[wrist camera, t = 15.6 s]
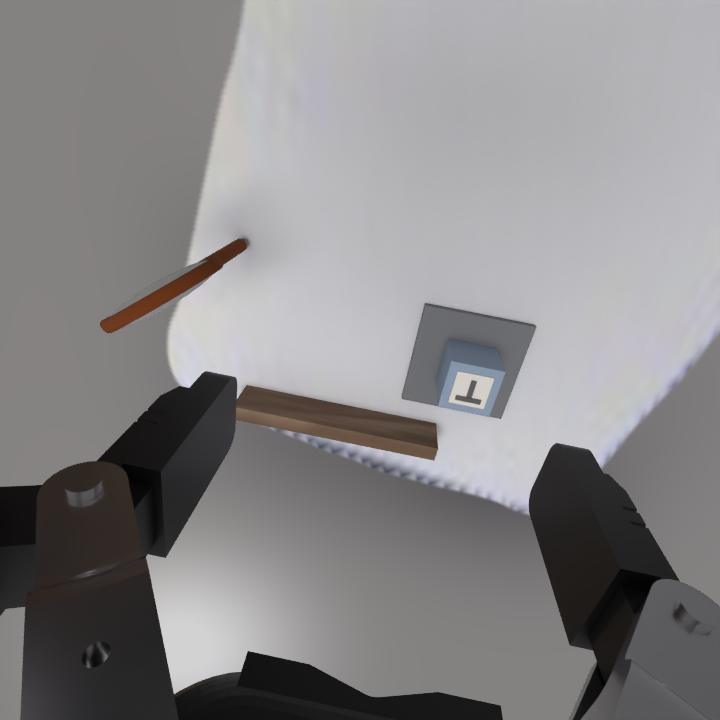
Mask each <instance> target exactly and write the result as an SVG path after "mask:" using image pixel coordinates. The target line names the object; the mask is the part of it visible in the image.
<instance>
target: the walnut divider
mask: <svg viewBox="0 0 720 720" xmlns="http://www.w3.org/2000/svg"><path fill="white" fill-rule="evenodd" d="M236 420H239V421H244V422H249V423H254V424H259V425H264V426H268V427H273V428H278V429H283V430H288V431H293V432H298V433H303V434H308V435H312V436H317V437H322V438H327V439H332V440H337V441H342V442H347V443H351V444H356V445H361V446H366V447H371V448H376V449H381V450H386V451H391V452H395V453H400V454H405V455H410V456H415V457H420V458H425V459H430V460H434V459H435V456H436V453H437V450H438V443H437V430H436V424H435V423H430V422H425V421H420V420H415V419H410V418H405V417H400V416H395V415H390V414H385V413H380V412H375V411H371V410H366V409H361V408H356V407H351V406H346V405H341V404H336V403H331V402H326V401H321V400H316V399H311V398H306V397H302V396H297V395H292V394H287V393H282V392H277V391H272V390H267V389H262V388H257V387H252V386H247V385H246V387H245V388H244V390H243V391H242V393H241V394H240V396H239V397H238V399H237V401H236Z"/></svg>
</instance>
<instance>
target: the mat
mask: <svg viewBox="0 0 720 720" xmlns="http://www.w3.org/2000/svg"><path fill="white" fill-rule="evenodd" d="M535 329H536V326H535V325H532V324H527V323H522V322H517V321H512V320H507V319H502V318H497V317H492V316H487V315H481V314H476V313H471V312H466V311H461V310H456V309H451V308H446V307H441V306H436V305H431V304H426V303H425V306H424V310H423V314H422V318H421V322H420V326H419V330H418V334H417V338H416V342H415V346H414V350H413V354H412V358H411V362H410V366H409V370H408V374H407V378H406V382H405V386H404V390H403V394H402V399H405V400H410V401H415V402H420V403H425V404H430V405H435V406H438V403H437V391H436V378H437V374H438V371H439V368H440V364H441V361H442V357H443V354H444V350H445V347H446V343H447V340H448V339H451V340H456V341H461V342H466V343H471V344H476V345H481V346H486V347H491V348H496V349H497V351H498V354H499V356H500V359H501V361H502V364H503V366H504V369H505V372H506V373H505V375H504V378H503V381H502V383H501V386H500V389H499V391H498V394H497V397H496V400H495V402H494V405H493V408H492V410H491V413H490V416H489V417H494V418H499V419H501V418H502V415H503V412H504V410H505V407H506V405H507V402H508V399H509V397H510V394H511V392H512V389H513V386H514V384H515V381H516V379H517V376H518V373H519V371H520V368H521V366H522V363H523V360H524V358H525V355H526V353H527V350H528V347H529V345H530V342H531V340H532V337H533V334H534V332H535Z"/></svg>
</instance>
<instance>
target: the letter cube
mask: <svg viewBox="0 0 720 720" xmlns="http://www.w3.org/2000/svg"><path fill="white" fill-rule="evenodd" d="M505 373H506V372H505V369H504V366H503V364H502V361H501V359H500V356H499V354H498V351H497V349H496V348H491V347H486V346H481V345H476V344H471V343H466V342H461V341H456V340H451V339H448V340H447V343H446V347H445V350H444V354H443V357H442V361H441V364H440V368H439V371H438V374H437V378H436V391H437V403H438V407H443V408H448V409H453V410H458V411H463V412H468V413H473V414H477V415H482V416H487V417H489V416H490V413H491V410H492V408H493V405H494V402H495V400H496V397H497V394H498V391H499V389H500V386H501V383H502V381H503V378H504V375H505Z"/></svg>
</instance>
